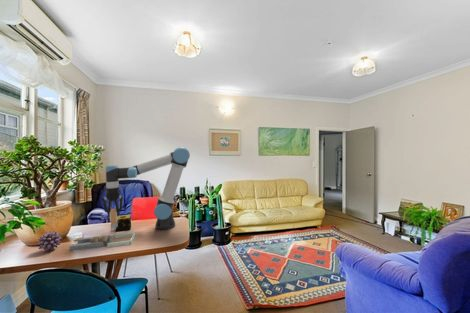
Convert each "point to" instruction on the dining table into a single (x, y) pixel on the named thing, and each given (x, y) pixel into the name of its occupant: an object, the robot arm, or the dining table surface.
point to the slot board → (89, 244)
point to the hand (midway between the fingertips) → (114, 221)
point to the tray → (122, 241)
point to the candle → (124, 223)
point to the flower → (49, 240)
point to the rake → (113, 219)
